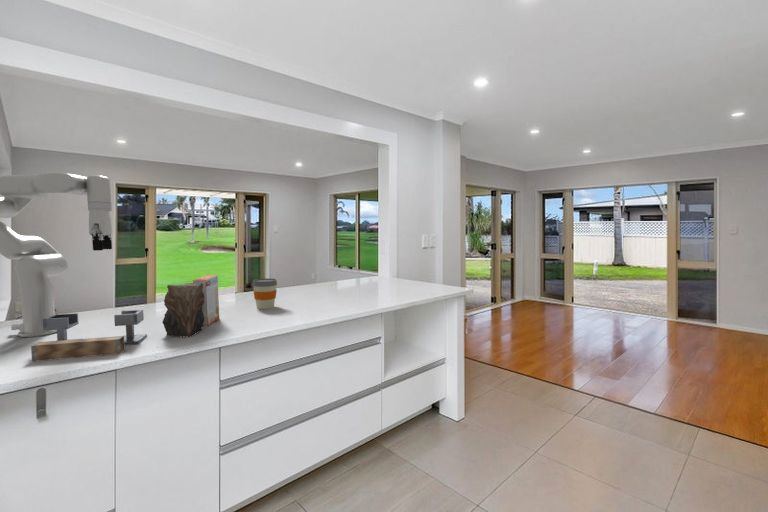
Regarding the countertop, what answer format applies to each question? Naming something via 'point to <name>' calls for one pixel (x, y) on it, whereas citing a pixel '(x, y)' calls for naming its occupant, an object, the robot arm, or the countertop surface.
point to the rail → (77, 348)
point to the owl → (184, 309)
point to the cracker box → (209, 298)
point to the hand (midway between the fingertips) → (102, 249)
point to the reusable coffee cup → (265, 293)
